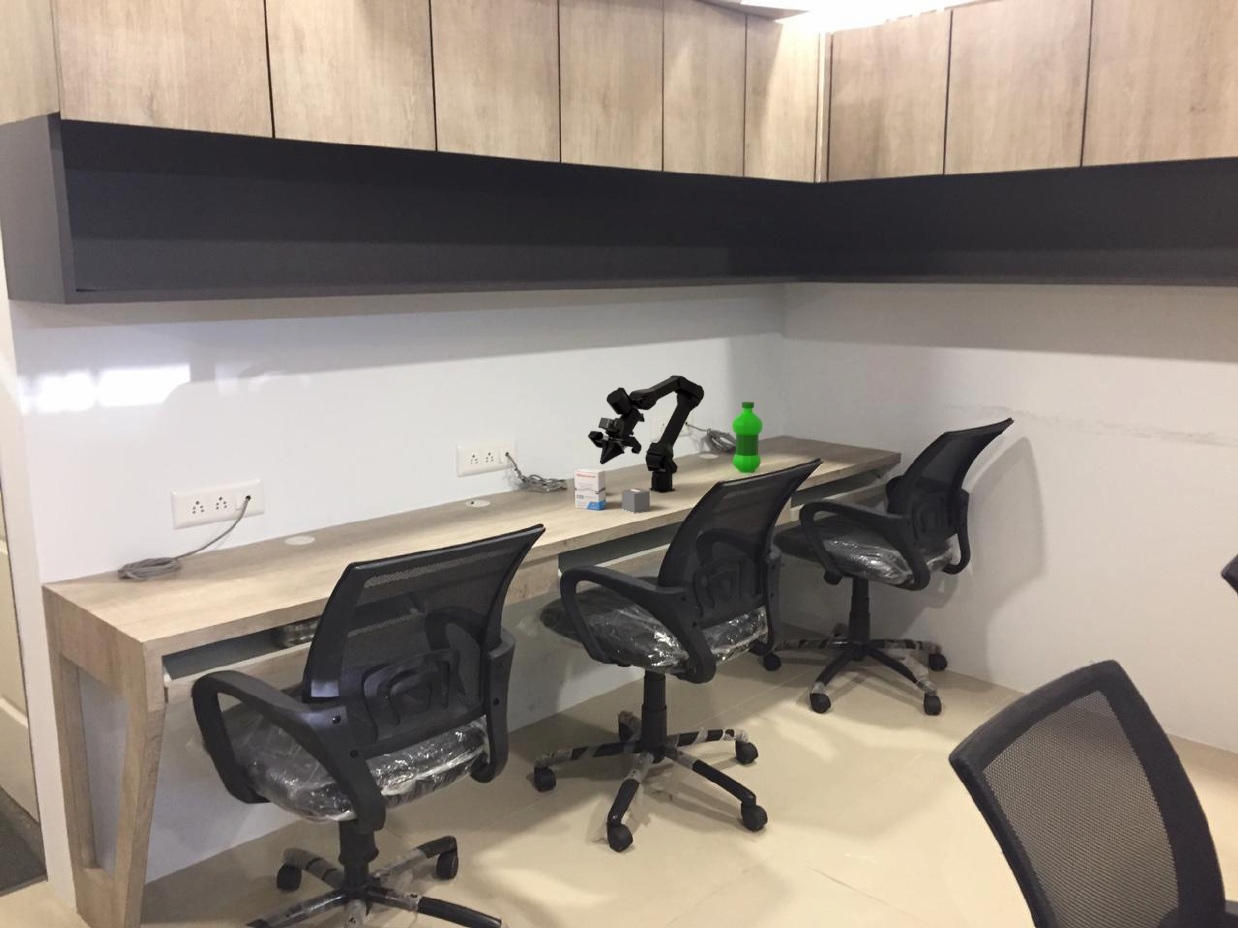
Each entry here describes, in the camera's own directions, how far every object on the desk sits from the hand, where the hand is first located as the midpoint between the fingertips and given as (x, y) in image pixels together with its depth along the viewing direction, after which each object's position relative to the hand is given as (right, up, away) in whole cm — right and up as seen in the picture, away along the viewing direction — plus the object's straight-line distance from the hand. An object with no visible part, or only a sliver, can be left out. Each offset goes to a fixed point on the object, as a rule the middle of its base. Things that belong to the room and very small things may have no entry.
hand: (601, 463), depth 303 cm
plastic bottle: (+51, -3, +53) cm, 74 cm away
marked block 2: (+11, -14, -4) cm, 18 cm away
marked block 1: (-5, -11, +14) cm, 18 cm away
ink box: (-3, -14, -1) cm, 14 cm away
